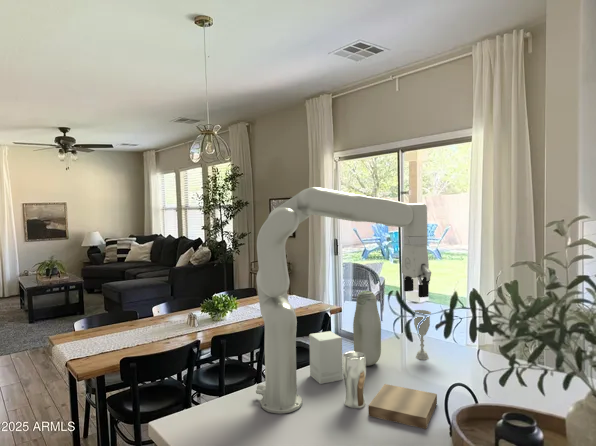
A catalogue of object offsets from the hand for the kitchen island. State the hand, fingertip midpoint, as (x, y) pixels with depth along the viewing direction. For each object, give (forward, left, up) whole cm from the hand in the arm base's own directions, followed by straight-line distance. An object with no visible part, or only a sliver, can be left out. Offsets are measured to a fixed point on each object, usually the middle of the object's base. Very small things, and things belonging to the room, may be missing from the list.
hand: (415, 293), depth 133 cm
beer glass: (-14, -19, -31) cm, 39 cm away
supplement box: (-30, -5, -31) cm, 44 cm away
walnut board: (0, -16, -31) cm, 35 cm away
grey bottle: (-21, +13, -31) cm, 40 cm away
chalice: (-4, +29, -31) cm, 43 cm away
